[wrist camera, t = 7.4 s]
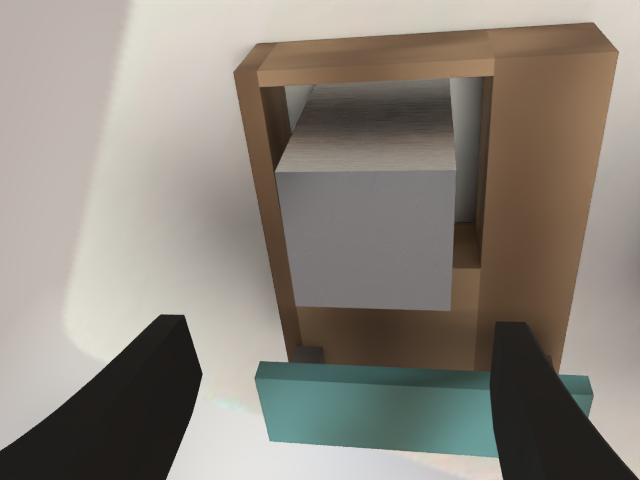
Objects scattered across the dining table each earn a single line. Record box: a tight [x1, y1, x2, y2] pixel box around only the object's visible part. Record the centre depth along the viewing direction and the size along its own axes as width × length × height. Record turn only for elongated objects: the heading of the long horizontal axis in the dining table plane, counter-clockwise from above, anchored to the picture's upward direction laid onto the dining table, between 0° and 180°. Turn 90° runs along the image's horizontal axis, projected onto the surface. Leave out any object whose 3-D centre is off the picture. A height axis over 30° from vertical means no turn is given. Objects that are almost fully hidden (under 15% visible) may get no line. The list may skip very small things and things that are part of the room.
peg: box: [275, 78, 456, 311], centre depth 19 cm, size 5×5×7 cm
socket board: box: [233, 23, 619, 458], centre depth 20 cm, size 11×13×7 cm
